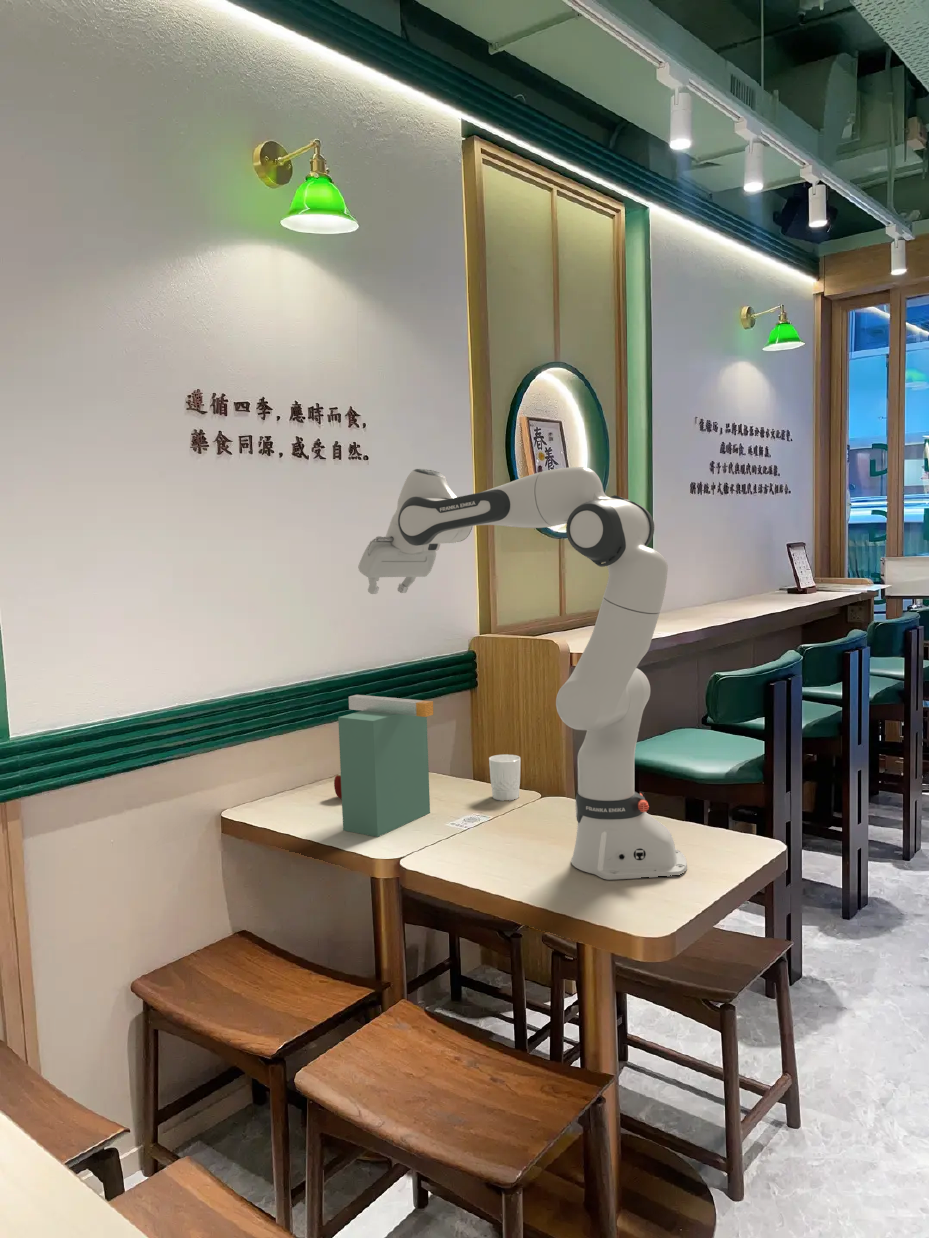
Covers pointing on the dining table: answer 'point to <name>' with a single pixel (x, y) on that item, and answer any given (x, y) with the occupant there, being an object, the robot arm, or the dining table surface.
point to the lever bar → (391, 705)
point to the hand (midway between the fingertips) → (387, 592)
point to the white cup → (505, 776)
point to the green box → (383, 771)
